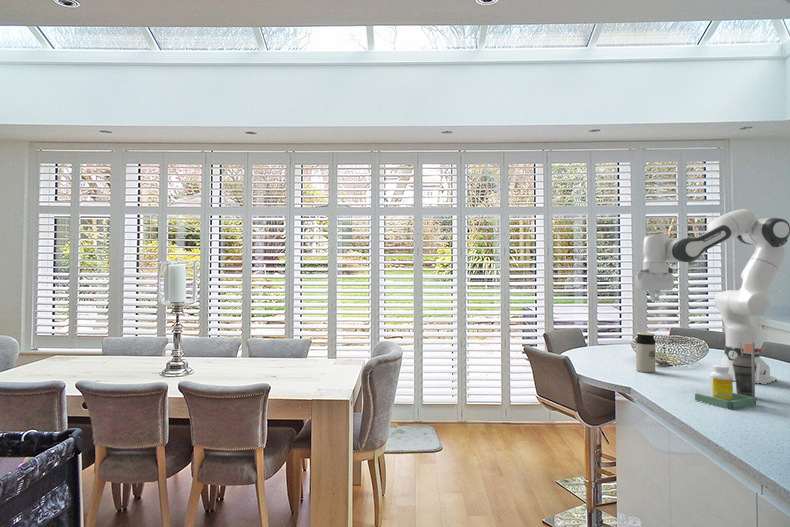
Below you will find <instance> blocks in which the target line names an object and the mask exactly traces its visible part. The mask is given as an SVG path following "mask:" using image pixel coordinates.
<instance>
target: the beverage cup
mask: <svg viewBox="0 0 790 527" xmlns="http://www.w3.org/2000/svg"><path fill="white" fill-rule="evenodd" d="M740 348H741V355H739V356H737V357H736V358H735V359H734V361H733V368H734V372H735V381H734V382H735V389H736V394H741V395H745V396H750V397H752V358H751V357H750V356H748V355H743V351H742V344H741V343H740ZM755 371H756V363H755Z"/></svg>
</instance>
